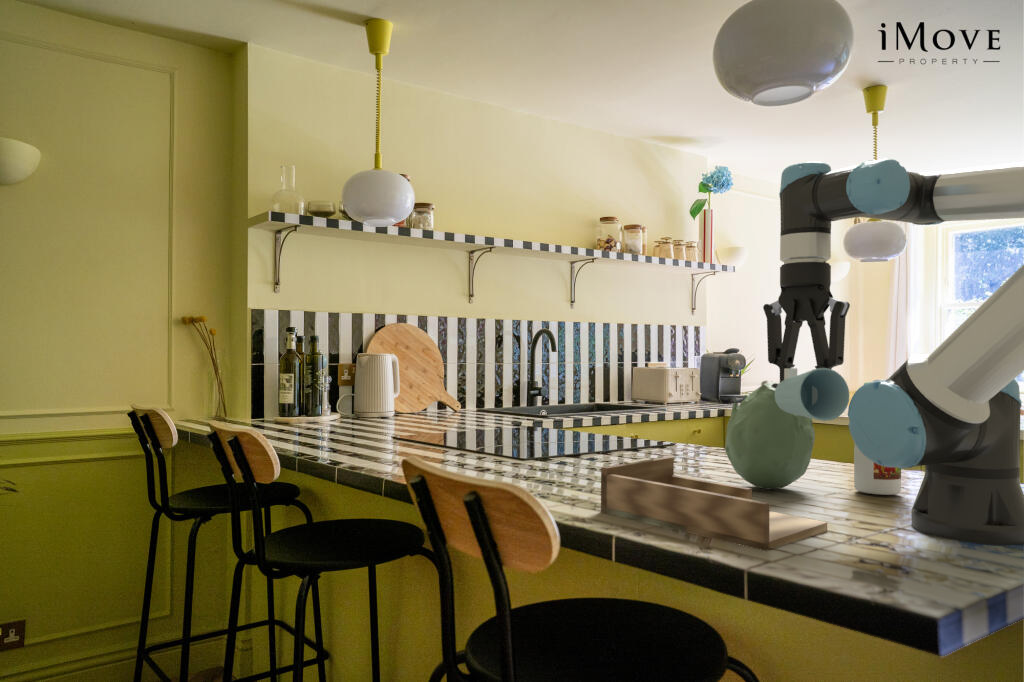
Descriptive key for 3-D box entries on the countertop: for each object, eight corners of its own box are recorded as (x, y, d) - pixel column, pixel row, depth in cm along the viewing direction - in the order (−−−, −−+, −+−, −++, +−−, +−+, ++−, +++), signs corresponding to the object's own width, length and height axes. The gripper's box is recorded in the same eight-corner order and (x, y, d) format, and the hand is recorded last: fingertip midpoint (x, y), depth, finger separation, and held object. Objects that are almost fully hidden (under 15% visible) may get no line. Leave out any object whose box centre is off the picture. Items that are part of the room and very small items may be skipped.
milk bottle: (855, 493, 132) (855, 383, 132) (852, 486, 139) (853, 381, 139) (903, 497, 129) (903, 384, 129) (898, 489, 136) (898, 382, 136)
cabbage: (709, 490, 135) (709, 381, 135) (746, 475, 149) (746, 378, 149) (796, 502, 125) (797, 385, 125) (827, 485, 140) (827, 380, 140)
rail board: (827, 532, 105) (827, 478, 105) (764, 555, 93) (764, 494, 93) (667, 500, 126) (667, 454, 126) (600, 515, 115) (601, 465, 115)
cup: (823, 391, 117) (859, 389, 107) (796, 429, 116) (831, 431, 106) (785, 362, 117) (818, 357, 107) (758, 400, 116) (789, 399, 106)
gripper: (870, 260, 112) (869, 412, 112) (768, 268, 125) (768, 404, 125) (847, 256, 107) (846, 415, 107) (744, 265, 120) (743, 407, 120)
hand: (804, 409), depth 116 cm, fingers closed on cup, 4 cm apart
